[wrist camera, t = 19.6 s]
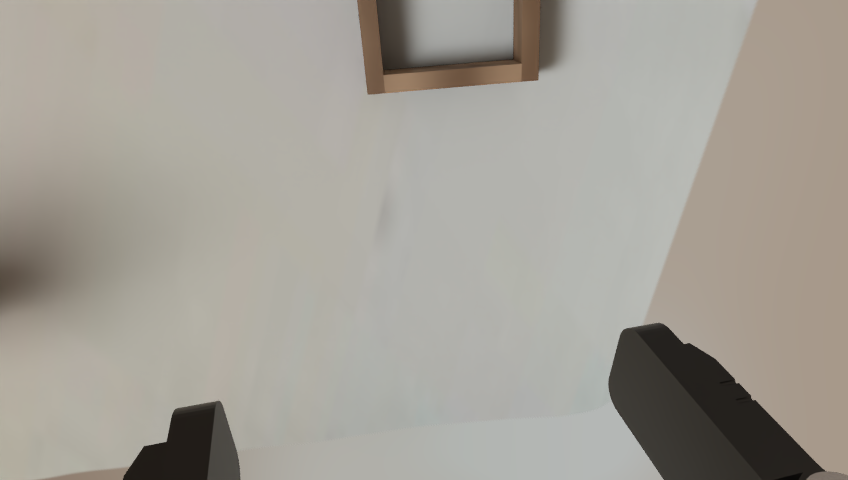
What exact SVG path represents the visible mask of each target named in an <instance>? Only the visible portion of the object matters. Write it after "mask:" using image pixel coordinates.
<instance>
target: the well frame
mask: <svg viewBox="0 0 848 480" xmlns="http://www.w3.org/2000/svg"><path fill="white" fill-rule="evenodd" d="M357 2H358V11H359V20H360V29H361V38H362V47H363V56H364V65H365V74H366V83H367V92H368V94H380V93H392V92H404V91H416V90H427V89H439V88H451V87H463V86H475V85H487V84H499V83H510V82H522V81H534V80H538V71H539V34H540V0H514V37H513V60H500V61H488V62H476V63H464V64H452V65H439V66H427V67H415V68H403V69H391V70H383V66H382V56H381V46H380V35H379V25H378V15H377V4H376V0H357Z"/></svg>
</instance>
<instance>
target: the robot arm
mask: <svg viewBox="0 0 848 480" xmlns="http://www.w3.org/2000/svg"><path fill="white" fill-rule="evenodd" d="M609 392H610V396H611V400H612V402H613V404H614V406H615V408H616V410H617V411H618V413H619V414H620V416H621V417H622V419H623V420H624V422H625V423H626V425H627V426H628V428H629V429H630V430H631V432H632V433H633V435H634V436H635V438H636V439H637V441H638V442H639V444H640V445H641V447H642V448H643V450H644V451H645V453H646V454H647V455H648V457H649V458H650V460H651V461H652V463H653V464H654V466H655V467H656V469H657V470H658V472H659V473H660V475H661V476H662V478H663V479H664V480H848V476H847V475H845V474H841V473H837V472H826V471H825V470H824V469H822V468H821V467H820V466H819V465H818V464H817V463H816V462H815V461H814V460H813V459H812V458H811V457H810V456H809V455H808V454H807V453H806V452H805V451H804V450H803V449H802V448H801V447H800V446H799V445H798V444H797V443H796V442H795V441H794V439H793V438H792V437H791V436H789V434H788V433H787V432H786V431H785V430H784V429H783V428H782V427H781V426H780V425H779V424H778V423H777V422H776V421H775V420H774V419H773V418H772V417H771V416H770V415H769V414H768V413H767V412H766V411H765V410H764V409H763V408H762V407H761V406H760V405H759V404H758V402H757V401H756V400H754V401H753V400H752V399H751V395H750V394H749V393H748V392H747V391H746V390H745V389H744V388H743V387H742V386H741V385H740V384H739V383H738V384H736V383H735V379H734V378H733V377H732V376H731V375H730V374H729V373H728V372H727V371H726V370H725V369H724V367H723V366H722V365H721V364H719V362H718V361H717V360H716V359H714V358H713V357H711V356H710V355H708V354H706V353H705V352H703V351H701V350H700V349H698V348H697V347H695V346H693V345H692V344H690V343H688V344H683V343H682V342H681V341H680V340H679V339H678V338H677V337H676V336H675V334H674V333H673V332H672V331H671V330H670V329H669V328H668V327H667V326H665V325H664V324H661V323H655V324H649V325H643V326H638V327H632V328H627V329H624V330H623V331H622V333H621V335H620V338H619V342H618V346H617V349H616V353H615V357H614V361H613V365H612V369H611V372H610V376H609ZM123 480H240V468H239V460H238V455H237V451H236V447H235V444H234V441H233V438H232V434H231V431H230V428H229V425H228V421H227V418H226V415H225V412H224V408H223V405H222V403H221V402H220V401H216V402H210V403H205V404H199V405H193V406H188V407H182V408H177V409H175V410H174V412H173V415H172V418H171V423H170V428H169V433H168V438H167V442H164V443H159V444H154V445H149V446H144V447H143V449H142V450H141V452H140V453H139V455H138V456H137V458H136V459H135V460H134V462H133V463H132V465H131V466H130V468H129V469H128V471H127V472H126V474H125V475H124V478H123Z"/></svg>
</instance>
